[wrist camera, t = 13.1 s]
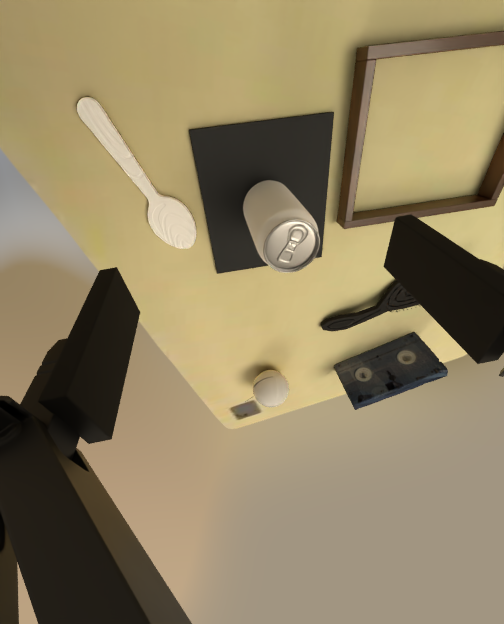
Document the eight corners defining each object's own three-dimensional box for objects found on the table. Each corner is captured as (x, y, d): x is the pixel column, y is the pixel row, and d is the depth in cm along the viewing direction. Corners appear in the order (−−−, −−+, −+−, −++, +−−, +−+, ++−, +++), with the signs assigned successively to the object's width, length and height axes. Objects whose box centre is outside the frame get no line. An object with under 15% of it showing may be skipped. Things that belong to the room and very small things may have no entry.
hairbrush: (320, 321, 47) (474, 263, 43) (314, 307, 50) (458, 251, 46) (330, 349, 53) (468, 299, 48) (324, 335, 55) (454, 287, 51)
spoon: (103, 82, 26) (101, 82, 26) (206, 236, 38) (207, 238, 37) (60, 114, 27) (58, 114, 27) (174, 255, 38) (173, 257, 38)
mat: (189, 129, 30) (188, 130, 29) (332, 111, 31) (334, 112, 30) (217, 272, 41) (217, 273, 41) (320, 255, 42) (321, 257, 42)
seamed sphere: (278, 357, 56) (287, 388, 51) (287, 377, 61) (297, 406, 55) (233, 374, 57) (237, 405, 52) (246, 392, 62) (251, 422, 57)
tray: (356, 48, 28) (368, 45, 26) (556, 26, 29) (582, 22, 27) (336, 222, 39) (343, 229, 37) (480, 200, 41) (494, 205, 39)
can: (300, 190, 35) (337, 227, 26) (278, 235, 39) (304, 283, 30) (254, 170, 33) (277, 204, 24) (235, 220, 36) (248, 267, 27)
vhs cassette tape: (335, 371, 62) (354, 411, 55) (332, 364, 61) (352, 404, 53) (415, 339, 60) (448, 377, 52) (415, 331, 58) (448, 368, 50)
